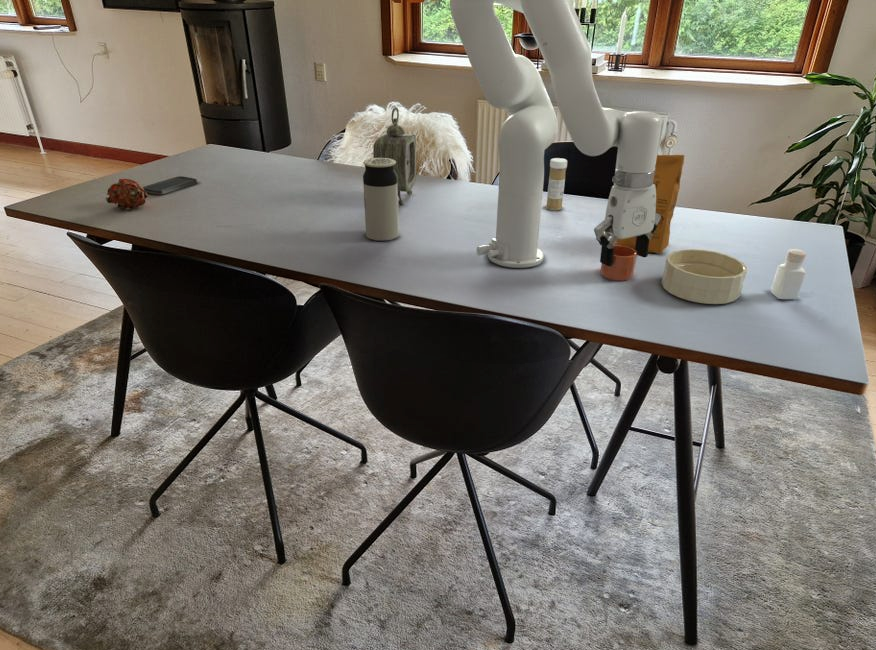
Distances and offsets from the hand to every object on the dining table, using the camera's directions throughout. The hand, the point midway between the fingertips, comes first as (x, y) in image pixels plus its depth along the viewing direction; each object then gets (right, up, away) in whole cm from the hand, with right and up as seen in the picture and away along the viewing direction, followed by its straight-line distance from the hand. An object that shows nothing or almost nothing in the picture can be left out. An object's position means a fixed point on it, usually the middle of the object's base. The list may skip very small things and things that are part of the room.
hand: (623, 259), depth 133 cm
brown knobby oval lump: (-124, +20, +36) cm, 131 cm away
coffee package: (+9, +6, +18) cm, 21 cm away
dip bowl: (-1, -3, +2) cm, 4 cm away
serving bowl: (+15, -7, -4) cm, 17 cm away
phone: (-120, +30, +54) cm, 135 cm away
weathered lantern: (-52, +25, +47) cm, 74 cm away
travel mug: (-54, +9, +21) cm, 58 cm away
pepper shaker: (+31, -8, -6) cm, 32 cm away
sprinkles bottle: (-8, +21, +42) cm, 48 cm away
